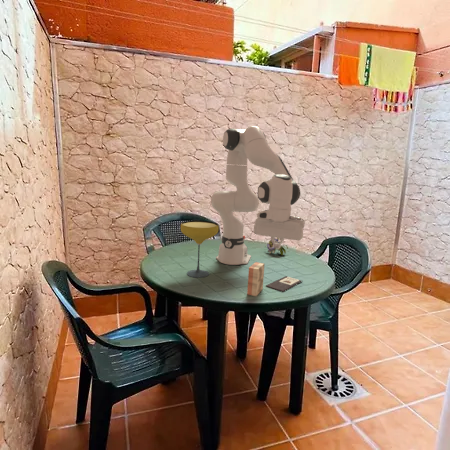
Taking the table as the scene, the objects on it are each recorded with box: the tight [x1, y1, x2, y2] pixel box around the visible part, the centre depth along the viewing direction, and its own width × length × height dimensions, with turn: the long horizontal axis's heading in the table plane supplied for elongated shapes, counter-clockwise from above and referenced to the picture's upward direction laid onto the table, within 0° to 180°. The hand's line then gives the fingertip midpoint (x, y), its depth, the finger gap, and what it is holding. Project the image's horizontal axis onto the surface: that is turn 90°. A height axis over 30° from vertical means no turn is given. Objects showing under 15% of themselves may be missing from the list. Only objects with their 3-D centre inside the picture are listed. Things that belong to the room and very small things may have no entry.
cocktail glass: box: [180, 219, 220, 279], centre depth 166 cm, size 18×18×25 cm
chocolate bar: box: [265, 275, 302, 293], centre depth 160 cm, size 9×1×18 cm
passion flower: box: [264, 237, 289, 256], centre depth 210 cm, size 11×11×12 cm
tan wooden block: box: [246, 261, 265, 297], centre depth 148 cm, size 9×4×12 cm, turn 156°
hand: (276, 247), depth 142 cm, fingers closed
